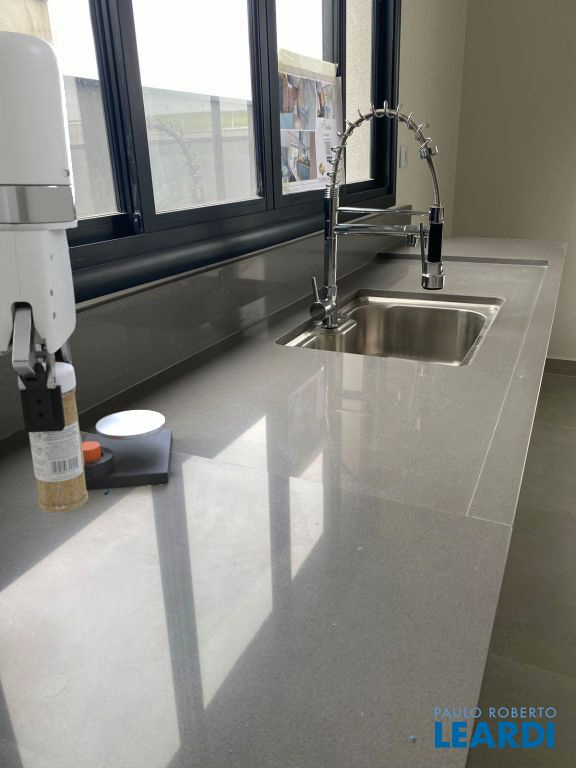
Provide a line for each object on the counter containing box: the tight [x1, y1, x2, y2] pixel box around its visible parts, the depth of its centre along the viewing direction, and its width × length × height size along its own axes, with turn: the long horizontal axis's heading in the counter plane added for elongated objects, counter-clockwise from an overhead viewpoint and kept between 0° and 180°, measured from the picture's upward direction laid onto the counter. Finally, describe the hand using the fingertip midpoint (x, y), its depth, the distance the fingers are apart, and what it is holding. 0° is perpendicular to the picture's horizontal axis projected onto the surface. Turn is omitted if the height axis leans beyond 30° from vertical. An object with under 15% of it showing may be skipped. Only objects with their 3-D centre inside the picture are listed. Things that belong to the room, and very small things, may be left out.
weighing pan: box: [95, 409, 166, 440], centre depth 81 cm, size 9×9×2 cm
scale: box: [82, 428, 174, 491], centre depth 80 cm, size 12×14×4 cm
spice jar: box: [28, 362, 89, 514], centre depth 55 cm, size 5×5×13 cm
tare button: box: [82, 441, 101, 462], centre depth 74 cm, size 3×3×2 cm
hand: (52, 416), depth 55 cm, fingers closed on spice jar, 4 cm apart
